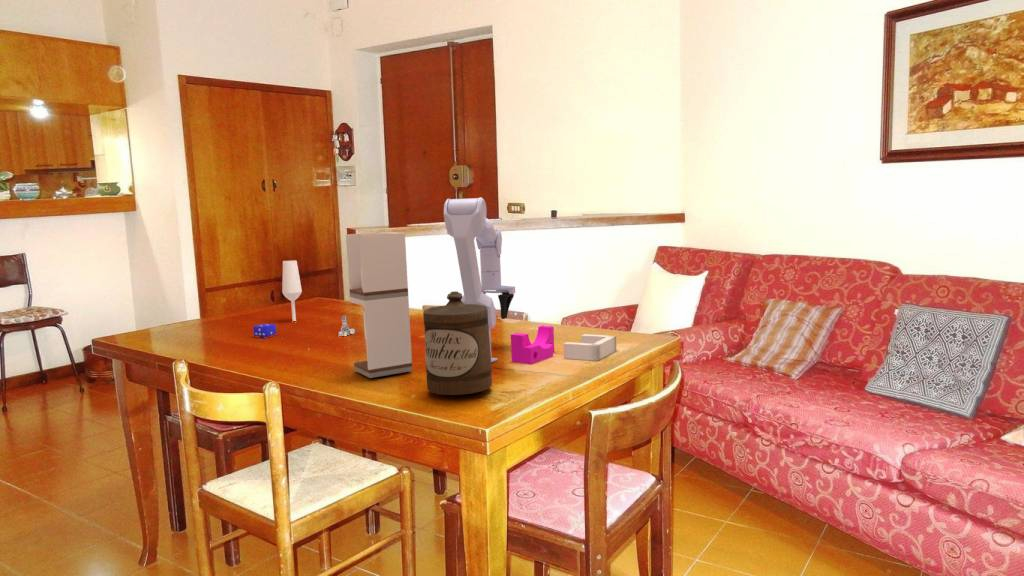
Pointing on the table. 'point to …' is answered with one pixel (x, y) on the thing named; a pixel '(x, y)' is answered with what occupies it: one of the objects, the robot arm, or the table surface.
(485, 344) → the wooden container
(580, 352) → the block holder
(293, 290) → the champagne flute
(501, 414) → the table surface
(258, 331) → the die
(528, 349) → the toy block
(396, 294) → the grey stacked tower
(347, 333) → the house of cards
